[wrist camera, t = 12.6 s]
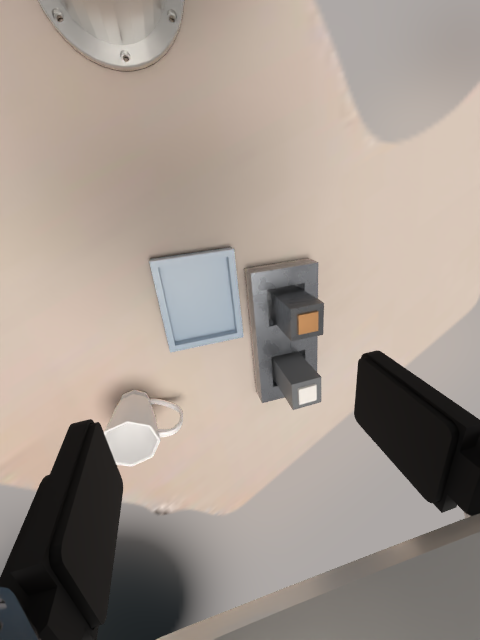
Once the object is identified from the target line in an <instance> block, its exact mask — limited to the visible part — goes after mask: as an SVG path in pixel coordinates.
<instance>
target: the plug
mask: <svg viewBox="0 0 480 640" xmlns="http://www.w3.org/2000/svg"><path fill="white" fill-rule="evenodd" d="M271 361H272V376H273V379H274V381H275V382H276V384H277V385H278V387H279V389H280V390H281V392H282V393H283V395H284V396H285V398H286V400H287V401H288V403H289V404H290V406H291V408H292V409H293V410H295V409H298V408H302V407H305V406H309V405H312V404H316V403H319V402H321V376H320V375H319V374H318V373H317V372H316V371H315V370H314V369H313V367H312V366H311V365H310V364H309V363H308V362H307V361H306V360H305V359H304V357H303V356H302V355H301V354H300V353H299V352H298V351H296V352H292V353H287V354H283V355H279V356H274V357H271Z"/></svg>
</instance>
